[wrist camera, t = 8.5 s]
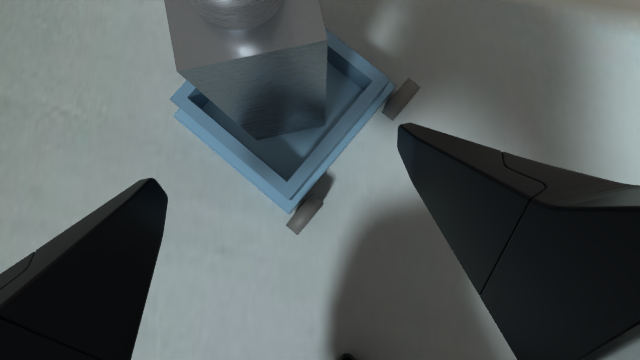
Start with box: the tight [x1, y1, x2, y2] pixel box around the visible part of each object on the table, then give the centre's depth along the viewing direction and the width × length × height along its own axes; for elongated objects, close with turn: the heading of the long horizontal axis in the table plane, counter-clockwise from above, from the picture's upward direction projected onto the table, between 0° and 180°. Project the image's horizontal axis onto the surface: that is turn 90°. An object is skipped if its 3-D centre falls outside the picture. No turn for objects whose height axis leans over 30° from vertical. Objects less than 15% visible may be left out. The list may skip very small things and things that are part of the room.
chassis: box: [170, 28, 421, 235], centre depth 18 cm, size 13×12×3 cm
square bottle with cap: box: [164, 0, 328, 140], centre depth 12 cm, size 5×5×13 cm
